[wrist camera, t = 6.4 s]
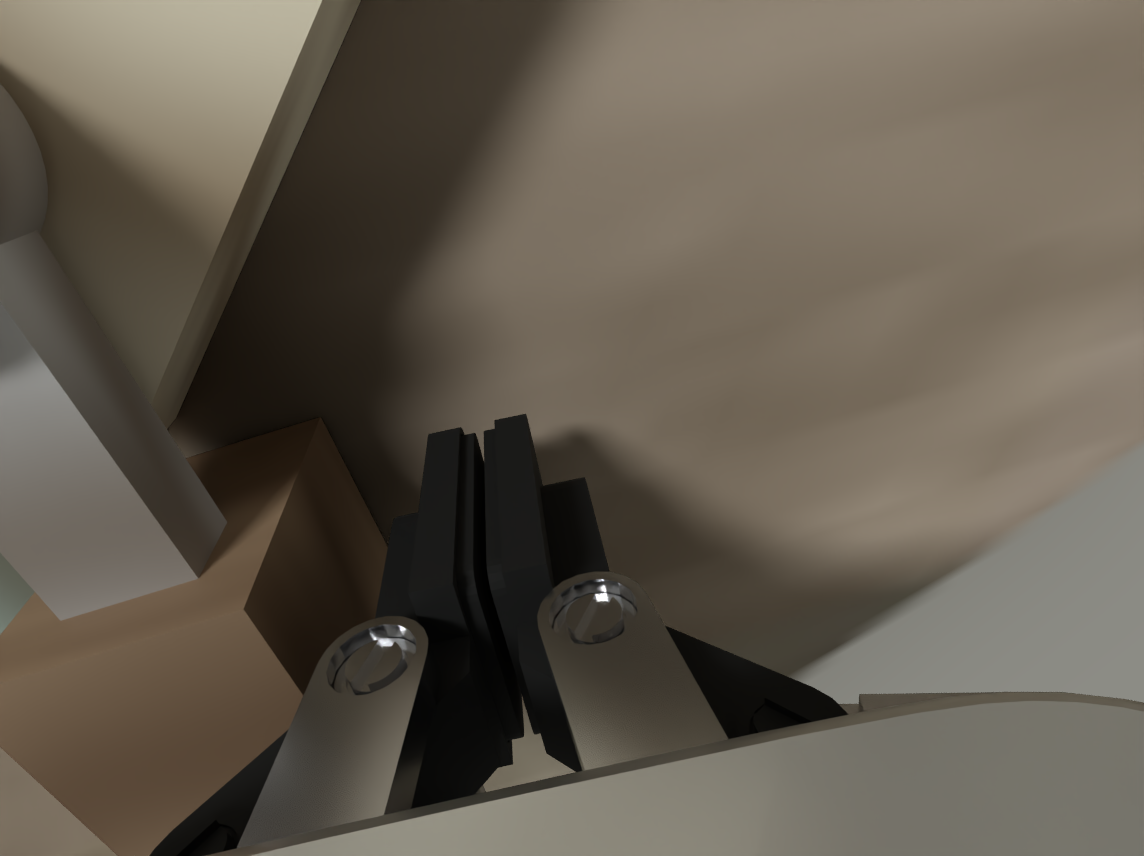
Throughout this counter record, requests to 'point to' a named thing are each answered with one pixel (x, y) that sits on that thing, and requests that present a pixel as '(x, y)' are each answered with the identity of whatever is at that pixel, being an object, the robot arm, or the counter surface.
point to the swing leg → (149, 559)
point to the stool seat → (161, 160)
